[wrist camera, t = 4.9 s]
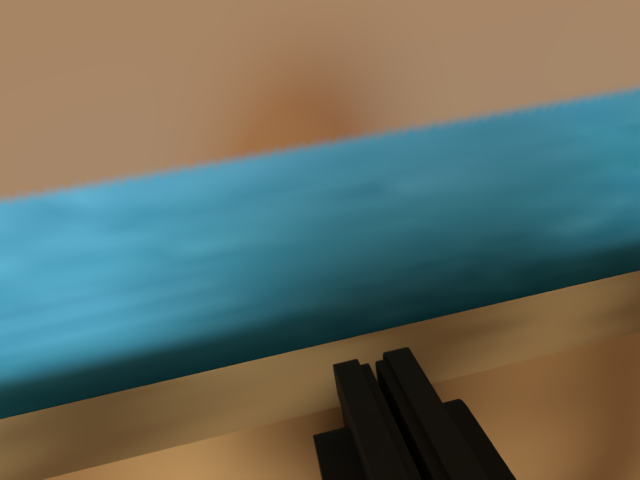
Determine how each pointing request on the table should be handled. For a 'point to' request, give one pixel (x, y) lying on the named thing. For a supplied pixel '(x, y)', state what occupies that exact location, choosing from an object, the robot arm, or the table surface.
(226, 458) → the oak plank
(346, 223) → the table surface
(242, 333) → the table surface
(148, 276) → the table surface
